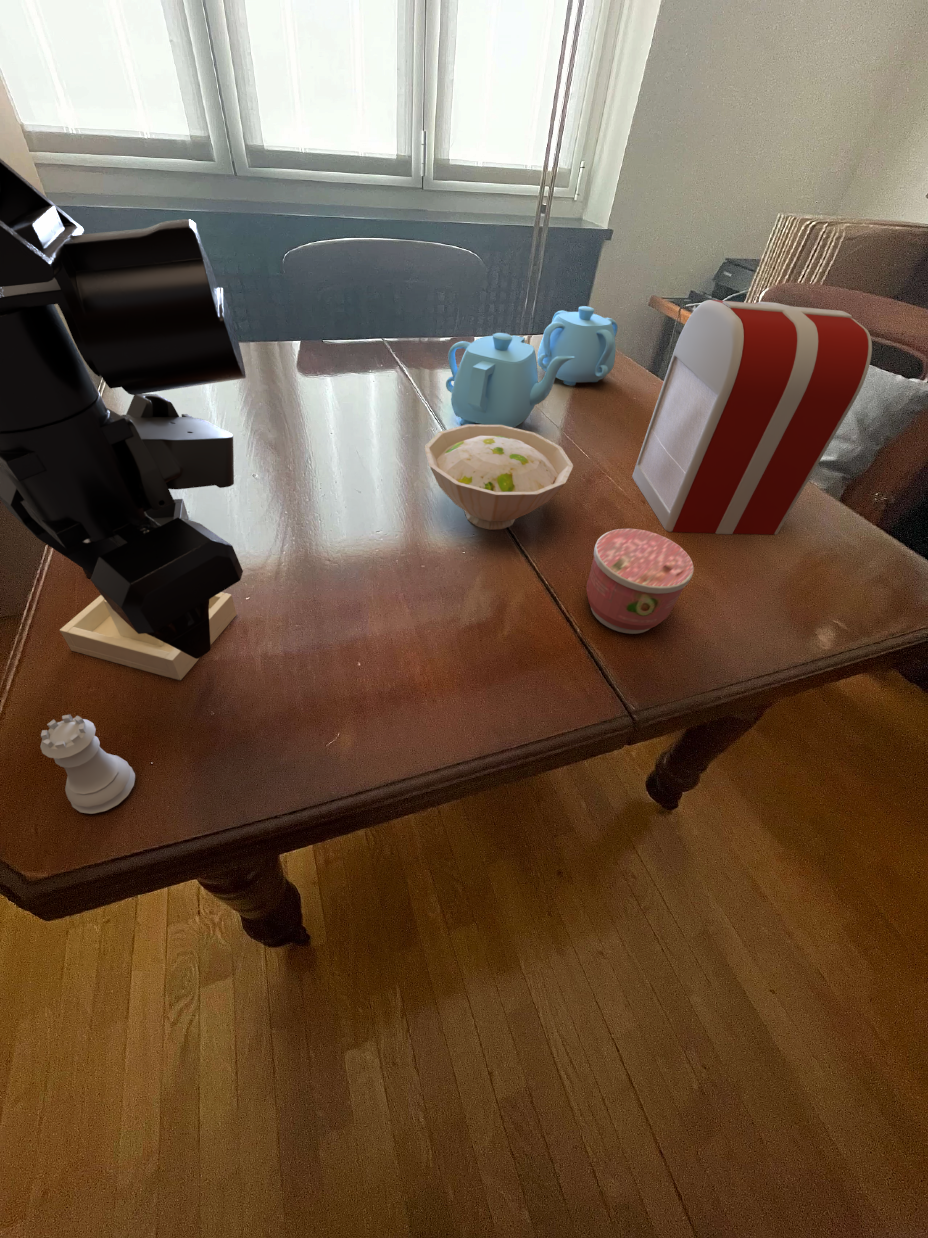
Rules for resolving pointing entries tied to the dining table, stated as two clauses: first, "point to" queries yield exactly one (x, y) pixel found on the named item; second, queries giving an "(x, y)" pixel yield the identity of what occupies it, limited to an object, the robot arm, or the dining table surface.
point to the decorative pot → (579, 345)
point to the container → (636, 579)
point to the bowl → (496, 471)
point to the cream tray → (102, 640)
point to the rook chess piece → (87, 765)
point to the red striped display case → (748, 413)
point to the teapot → (498, 380)
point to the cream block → (130, 629)
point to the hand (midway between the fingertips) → (167, 622)
